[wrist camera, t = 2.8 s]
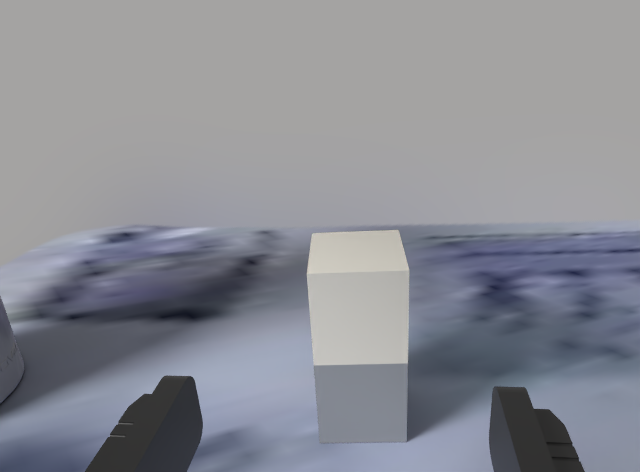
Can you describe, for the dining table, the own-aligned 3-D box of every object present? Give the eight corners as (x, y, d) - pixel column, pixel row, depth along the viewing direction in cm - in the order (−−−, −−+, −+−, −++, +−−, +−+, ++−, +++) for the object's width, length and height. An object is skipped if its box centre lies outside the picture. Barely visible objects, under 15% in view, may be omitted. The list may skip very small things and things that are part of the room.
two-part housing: (319, 443, 26) (306, 273, 22) (322, 385, 31) (311, 233, 26) (406, 442, 26) (409, 270, 22) (397, 383, 30) (398, 229, 26)
